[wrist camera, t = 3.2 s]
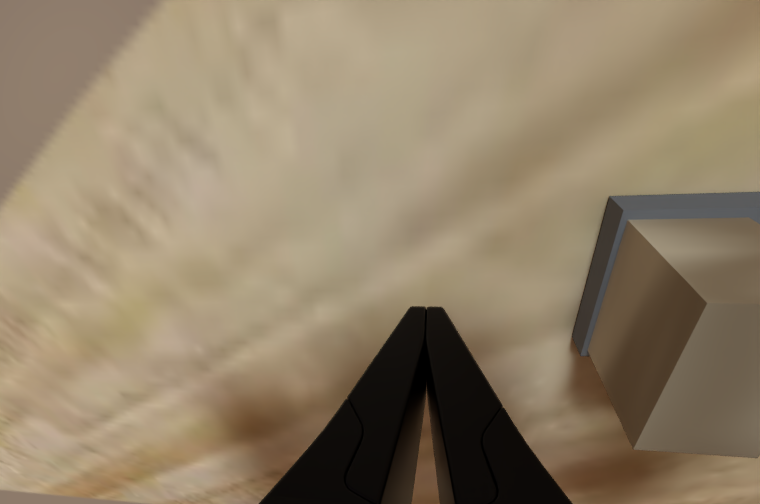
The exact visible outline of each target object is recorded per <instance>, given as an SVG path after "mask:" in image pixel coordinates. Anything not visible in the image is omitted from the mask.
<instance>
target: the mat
mask: <svg viewBox="0 0 760 504" xmlns="http://www.w3.org/2000/svg"><path fill="white" fill-rule="evenodd" d="M746 217H749V218H751V219H752V220H754V221H755V222H757V223H758V224H760V192H741V193H706V194H671V195H637V196H610V197H609V201H608V204H607V208H606V212H605V216H604V219H603V223H602V227H601V231H600V234H599V238H598V242H597V245H596V249H595V253H594V257H593V260H592V264H591V268H590V272H589V275H588V279H587V283H586V287H585V290H584V294H583V298H582V302H581V305H580V309H579V313H578V317H577V320H576V324H575V328H574V332H573V335H572V338H573V340H574V342H575V344H576V347H577V349H578V351H579V354H580V356H590V355H589V352H588V347H589V344H590V341H591V337H592V334H593V331H594V328H595V324H596V321H597V318H598V315H599V311H600V308H601V305H602V302H603V298H604V295H605V292H606V289H607V285H608V282H609V279H610V276H611V272H612V269H613V266H614V262H615V259H616V256H617V253H618V249H619V246H620V243H621V240H622V236H623V233H624V230H625V227H626V223H627V220H642V219H694V218H746Z"/></svg>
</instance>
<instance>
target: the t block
mask: <svg viewBox="0 0 760 504" xmlns="http://www.w3.org/2000/svg"><path fill="white" fill-rule="evenodd" d="M588 352H589V355H590V357H591V359H592V361H593V363H594V365H595V368H596V370H597V372H598V374H599V376H600V379H601V381H602V383H603V385H604V387H605V389H606V392H607V394H608V396H609V398H610V400H611V402H612V405H613V407H614V409H615V411H616V413H617V415H618V418H619V420H620V422H621V424H622V426H623V429H624V431H625V433H626V435H627V437H628V439H629V442H630V444H631V446H632V448H633V450H648V451H662V452H676V453H691V454H705V455H720V456H734V457H748V458H758V457H759V456H760V224H758V223H757V222H755V221H754V220H752V219H751V218H749V217H746V218H694V219H642V220H627V223H626V227H625V230H624V233H623V236H622V240H621V243H620V246H619V249H618V253H617V256H616V259H615V262H614V266H613V269H612V272H611V276H610V279H609V282H608V285H607V289H606V292H605V295H604V298H603V302H602V305H601V308H600V311H599V315H598V318H597V321H596V324H595V328H594V331H593V334H592V337H591V341H590V344H589V347H588Z"/></svg>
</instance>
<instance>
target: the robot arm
mask: <svg viewBox="0 0 760 504" xmlns="http://www.w3.org/2000/svg"><path fill="white" fill-rule="evenodd" d="M426 388H427V396H428V406H429V414H430V423H431V432H432V440H433V449H434V457H435V466H436V474H437V483H438V491H439V500H440V504H572V502H571V501H570V500H569V499H568V497H567V496H566V495H565V493H564V492H563V491H562V490H561V488H560V487H559V486H558V484H557V483H556V482H555V481H554V479H553V478H552V477H551V475H550V474H549V473H548V471H547V470H546V469H545V468H544V466H543V465H542V464H541V462H540V461H539V459H538V458H537V457H536V455H535V454H534V453H533V451H532V450H531V449H530V447H529V446H528V445H527V443H526V442H525V440H524V438H523V437H522V435H521V434H520V432H519V431H518V429H517V428H516V426H515V425H514V423H513V422H512V420H511V418H510V417H509V415H508V413H507V412H506V410H505V409H504V408H502V407H503V406H502V404H501V402H500V400H499V399H498V397H497V396H496V394H495V392H494V391H493V389H492V387H491V386H490V384H489V382H488V381H487V379H486V377H485V376H484V374H483V373H482V371H481V369H480V368H479V366H478V364H477V363H476V361H475V359H474V358H473V356H472V354H471V353H470V351H469V350H468V348H467V346H466V345H465V343H464V341H463V340H462V338H461V336H460V335H459V333H458V331H457V330H456V328H455V326H454V325H453V323H452V322H451V320H450V318H449V317H448V315H447V313H446V312H445V310H444V309H443V308H442V307H427V310H426V308H425V307H420V306H412V307H410V308H409V309H408V311H407V312H406V314H405V315H404V316H403V318H402V319H401V321H400V322H399V324H398V325H397V327H396V328H395V329H394V331H393V332H392V334H391V335H390V337H389V338H388V339H387V341H386V342H385V344H384V345H383V347H382V348H381V349H380V351H379V352H378V354H377V355H376V357H375V358H374V360H373V361H372V362H371V364H370V365H369V367H368V368H367V370H366V371H365V372H364V374H363V375H362V377H361V378H360V380H359V381H358V382H357V384H356V385H355V387H354V388H353V390H352V391H351V393H350V394H349V395H348V397H347V399H346V400H345V401H344V402H343V404H342V405H341V407H340V408H339V410H338V411H337V412H336V414H335V415H334V416H333V418H332V419H331V420H330V422H329V423H328V424H327V426H326V427H325V428H324V430H323V431H322V432H321V433H320V435H319V436H318V437H317V438H316V439H315V440H314V442H313V443H312V444H311V445H310V446H309V448H308V449H307V450H306V451H305V452H304V453H303V454H302V456H301V457H300V458H299V459H298V460H297V461H296V462H295V464H294V465H293V466H292V467H291V468H290V469H289V470H288V471H287V473H286V474H285V475H284V476H283V477H282V478H281V479H280V480H279V482H278V483H277V484H276V485H275V486H274V487H273V488H272V490H271V491H270V492H269V493H268V494H267V495H266V496H265V497H264V498H263V500H262V501H261V502H260V503H259V504H411V502H412V495H413V488H414V481H415V473H416V466H417V459H418V451H419V444H420V437H421V429H422V422H423V415H424V407H425V400H426Z"/></svg>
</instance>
